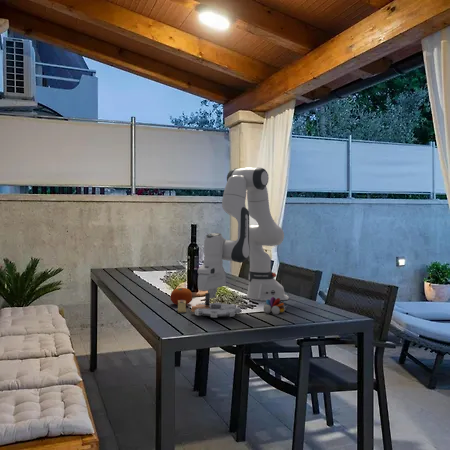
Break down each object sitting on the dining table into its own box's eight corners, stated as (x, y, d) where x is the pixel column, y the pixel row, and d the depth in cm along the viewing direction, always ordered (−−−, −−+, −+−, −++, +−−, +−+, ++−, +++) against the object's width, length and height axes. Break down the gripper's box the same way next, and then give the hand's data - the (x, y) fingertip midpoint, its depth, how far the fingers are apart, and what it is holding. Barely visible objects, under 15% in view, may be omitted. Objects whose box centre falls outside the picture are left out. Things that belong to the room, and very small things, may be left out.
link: (185, 309, 223) (185, 299, 222) (185, 312, 217) (185, 302, 217) (177, 309, 222) (177, 299, 222) (177, 312, 216) (178, 302, 216)
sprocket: (237, 306, 224) (237, 291, 224) (243, 317, 202) (244, 300, 202) (190, 306, 222) (190, 291, 222) (192, 317, 200) (192, 300, 200)
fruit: (182, 301, 241) (183, 286, 241) (196, 305, 233) (196, 288, 233) (165, 304, 233) (166, 288, 233) (179, 307, 226) (179, 291, 226)
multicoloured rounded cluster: (279, 316, 214) (280, 299, 213) (260, 313, 219) (260, 297, 218) (287, 312, 221) (288, 297, 221) (268, 310, 226) (269, 294, 226)
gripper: (218, 265, 232) (217, 294, 232) (195, 269, 214) (194, 300, 214) (229, 266, 229) (228, 295, 229) (207, 271, 211) (206, 302, 211)
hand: (212, 298), depth 222 cm, fingers closed
